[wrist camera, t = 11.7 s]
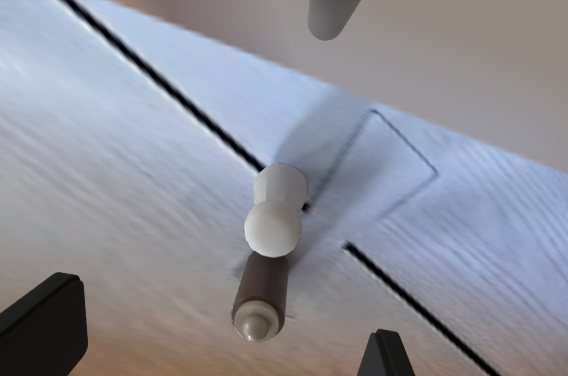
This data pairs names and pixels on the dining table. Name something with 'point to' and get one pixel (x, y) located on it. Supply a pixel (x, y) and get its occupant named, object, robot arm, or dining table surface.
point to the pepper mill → (261, 298)
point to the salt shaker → (276, 210)
